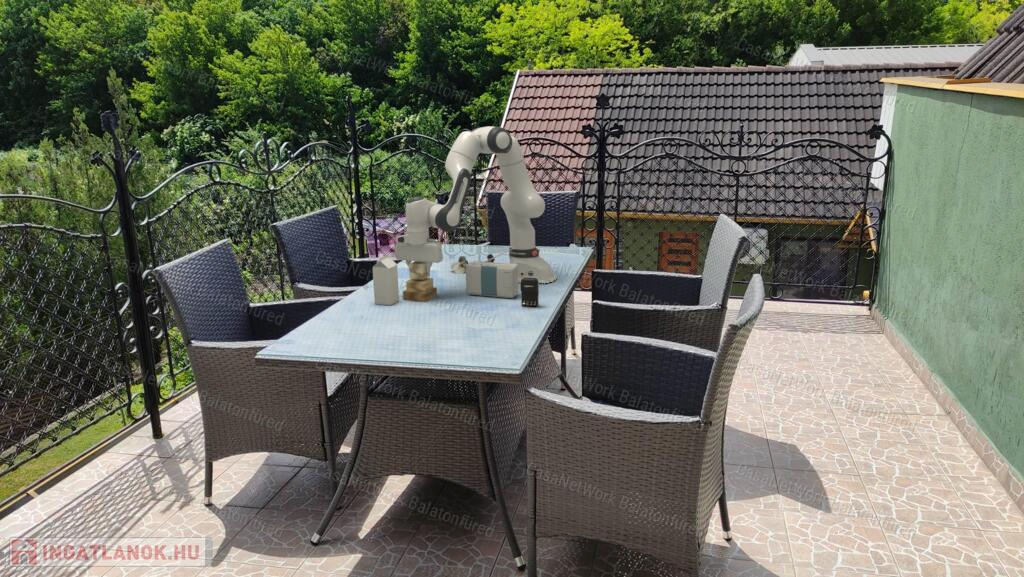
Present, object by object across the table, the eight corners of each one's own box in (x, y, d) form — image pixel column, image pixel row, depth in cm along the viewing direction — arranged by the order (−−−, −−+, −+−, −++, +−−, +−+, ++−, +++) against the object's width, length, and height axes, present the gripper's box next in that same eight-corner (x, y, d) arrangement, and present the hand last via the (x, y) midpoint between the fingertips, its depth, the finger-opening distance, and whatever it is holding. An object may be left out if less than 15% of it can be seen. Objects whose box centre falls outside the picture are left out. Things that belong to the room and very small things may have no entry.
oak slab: (433, 287, 282) (433, 278, 281) (424, 292, 274) (423, 282, 273) (416, 286, 284) (415, 276, 283) (406, 291, 277) (406, 281, 276)
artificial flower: (498, 271, 331) (498, 253, 326) (456, 282, 321) (455, 263, 316) (489, 263, 337) (489, 245, 332) (448, 273, 328) (447, 255, 323)
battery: (519, 307, 266) (519, 278, 263) (522, 304, 270) (521, 276, 267) (537, 308, 264) (537, 279, 261) (539, 305, 268) (539, 276, 265)
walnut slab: (437, 297, 283) (436, 287, 282) (425, 303, 274) (424, 293, 273) (415, 294, 287) (415, 285, 286) (403, 300, 278) (402, 291, 277)
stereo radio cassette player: (465, 295, 283) (464, 248, 278) (473, 290, 291) (472, 244, 285) (513, 300, 276) (512, 251, 271) (520, 295, 283) (519, 247, 278)
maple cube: (430, 276, 280) (429, 261, 278) (422, 279, 274) (421, 264, 273) (417, 275, 282) (416, 260, 281) (409, 278, 277) (408, 263, 275)
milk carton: (399, 301, 276) (396, 254, 271) (390, 305, 270) (387, 258, 265) (383, 299, 278) (380, 253, 274) (374, 304, 272) (371, 257, 267)
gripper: (444, 238, 273) (446, 272, 277) (400, 235, 281) (402, 268, 284) (437, 241, 267) (438, 275, 271) (392, 237, 275) (393, 271, 279)
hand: (419, 271), depth 278 cm, fingers open, 6 cm apart
